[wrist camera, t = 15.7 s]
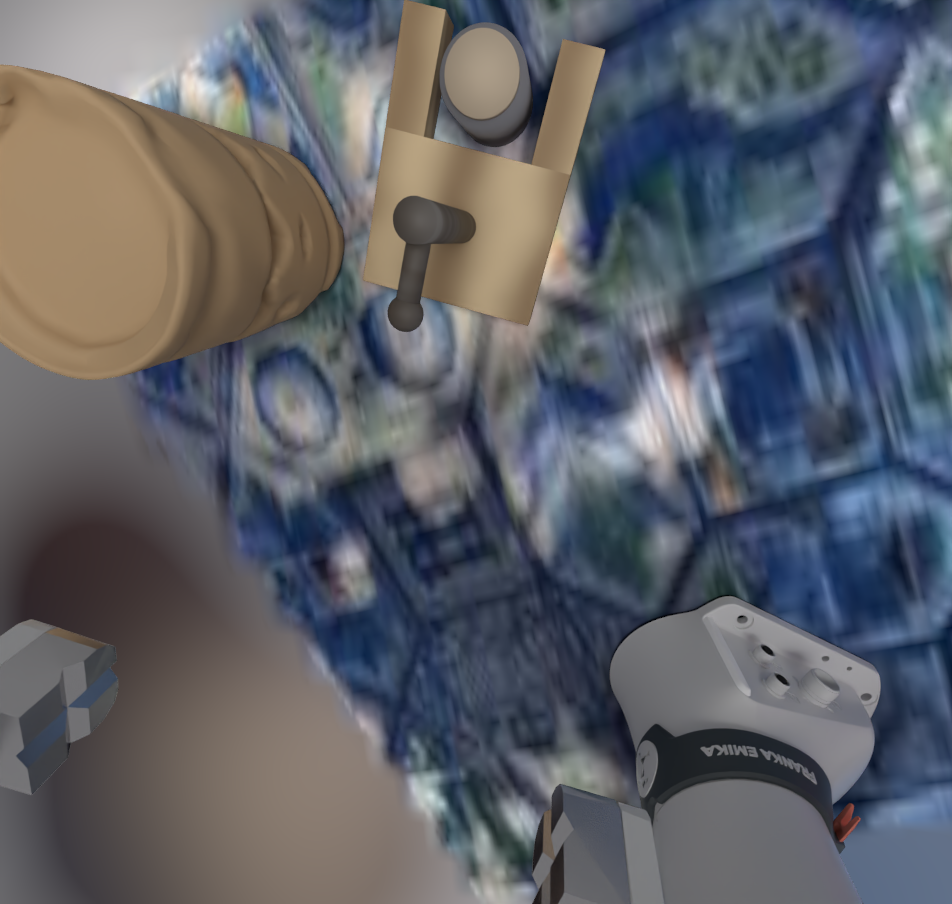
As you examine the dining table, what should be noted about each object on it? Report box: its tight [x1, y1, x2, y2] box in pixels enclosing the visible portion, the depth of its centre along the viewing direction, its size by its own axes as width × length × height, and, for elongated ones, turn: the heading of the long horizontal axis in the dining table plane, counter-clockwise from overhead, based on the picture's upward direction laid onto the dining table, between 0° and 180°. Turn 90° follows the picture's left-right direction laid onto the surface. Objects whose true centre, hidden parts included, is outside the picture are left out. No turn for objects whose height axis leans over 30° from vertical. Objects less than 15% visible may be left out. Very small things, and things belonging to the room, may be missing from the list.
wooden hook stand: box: [363, 0, 605, 332], centre depth 29 cm, size 12×16×14 cm
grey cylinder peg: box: [440, 23, 533, 147], centre depth 31 cm, size 5×5×7 cm
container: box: [0, 65, 344, 380], centre depth 31 cm, size 13×13×18 cm
